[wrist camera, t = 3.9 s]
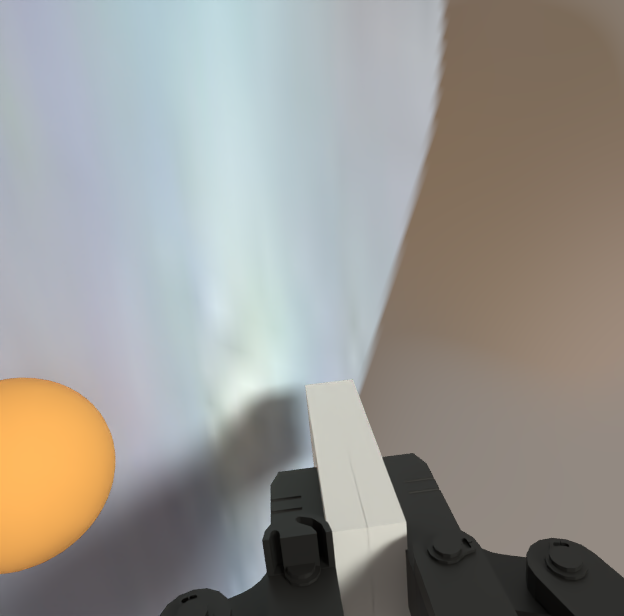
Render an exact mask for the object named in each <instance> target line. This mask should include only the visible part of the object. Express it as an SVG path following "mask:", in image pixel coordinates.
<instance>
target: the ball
mask: <svg viewBox="0 0 624 616" xmlns="http://www.w3.org/2000/svg"><path fill="white" fill-rule="evenodd" d="M114 472H115V450H114V443H113V439H112V436H111V433H110V430H109V428H108V426H107V424H106V422H105V420H104V418H103V417H102V415H101V414H100V412H99V411H98V410H97V409H96V408H95V406H94V405H93V404H92V403H90V402H89V401H88V400H87V399H86V398H85V397H83V396H82V395H81V394H79V393H78V392H76V391H74V390H72V389H71V388H69V387H66V386H64V385H61V384H59V383H56V382H52V381H49V380H43V379H36V378H11V379H5V380H0V574H5V573H12V572H17V571H21V570H24V569H28V568H31V567H34V566H36V565H39V564H41V563H43V562H46V561H48V560H49V559H51V558H53V557H55V556H56V555H58V554H60V553H61V552H63V551H64V550H66V549H67V548H68V547H69V546H71V545H72V544H73V543H74V542H76V541H77V540H78V539H79V538H80V537H81V536H82V535H83V534H84V533H85V532H86V531H87V530H88V529H89V527H90V526H91V525H92V524H93V522H94V521H95V520H96V518H97V517H98V515H99V514H100V512H101V510H102V508H103V507H104V505H105V503H106V501H107V498H108V496H109V493H110V490H111V487H112V484H113V478H114Z"/></svg>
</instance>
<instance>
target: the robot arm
mask: <svg viewBox="0 0 624 616" xmlns="http://www.w3.org/2000/svg"><path fill="white" fill-rule="evenodd" d="M305 388H306V397H307V406H308V416H309V425H310V434H311V443H312V453H313V462H314V467H313V468H305V469H298V470H290V471H282V472H278V474H277V476H276V477H275V479H274V481H273V482H272V484H271V525H270V526H269V527H268V528H267V529H266V531H265V533H264V537H263V540H262V542H263V549H264V555H265V562H266V569H267V573H266V574H265V576H264V577H263V578H262V579H261V580H260V582H258V583H257V584H256V585H255V586H253V587H252V588H251V589H249V590H247V591H245V592H243V593H241V594H239V595H237V596H234V597H232V598H230V599H227V598H226V597H225V596H224V595H223V594H221V593H220V592H219V591H215V590H211V589H207V588H206V589H197V590H192V591H189V592H187V593H185V594H182V595H180V596H178V597H177V598H176V599H175V600H173V601H172V602H171V603H169V604H168V605H167V606H166V608H165V609H164V611H163V612H162V613H161V615H160V616H624V578H623V577H622V576H621V575H620V574H618V573H617V572H616V571H615V570H614V569H612V568H611V567H610V566H609V565H608V564H606V563H605V562H604V561H603V560H602V559H601V558H599V557H598V556H597V555H596V554H595V553H593V552H592V551H590V550H588V549H587V548H585V547H584V546H582V545H580V544H578V543H575V542H572V541H569V540H566V539H557V538H549V539H543V540H539V541H537V542H536V543H534V544H533V545H531V546H530V548H529V551H528V552H527V555H526V556H527V557H518V556H510V555H502V554H497V553H492V552H489V551H487V550H484V549H482V548H481V547H480V545H479V544H478V543H477V542H476V540H475V539H474V538H473V537H472V536H470V535H468V534H466V533H465V532H463V531H461V530H460V528H459V526H458V524H457V522H456V520H455V518H454V516H453V514H452V512H451V510H450V508H449V506H448V504H447V503H446V500H445V499H444V496H443V495H442V493H441V491H440V490H439V487H438V485H437V483H436V481H435V479H434V478H433V475H432V473H431V471H430V469H429V468H428V466H427V464H426V463H425V462H424V461H422V460H421V459H420V458H419V457H417V456H416V455H415V454H413V453H411V454H403V455H396V456H387V457H382V456H381V453H380V451H379V448H378V446H377V443H376V440H375V438H374V435H373V432H372V430H371V427H370V424H369V421H368V419H367V416H366V413H365V411H364V408H363V406H362V403H361V400H360V397H359V395H358V392H357V389H356V387H355V384H354V381H353V379H351V380H343V381H335V382H326V383H318V384H310V385H305Z"/></svg>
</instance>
